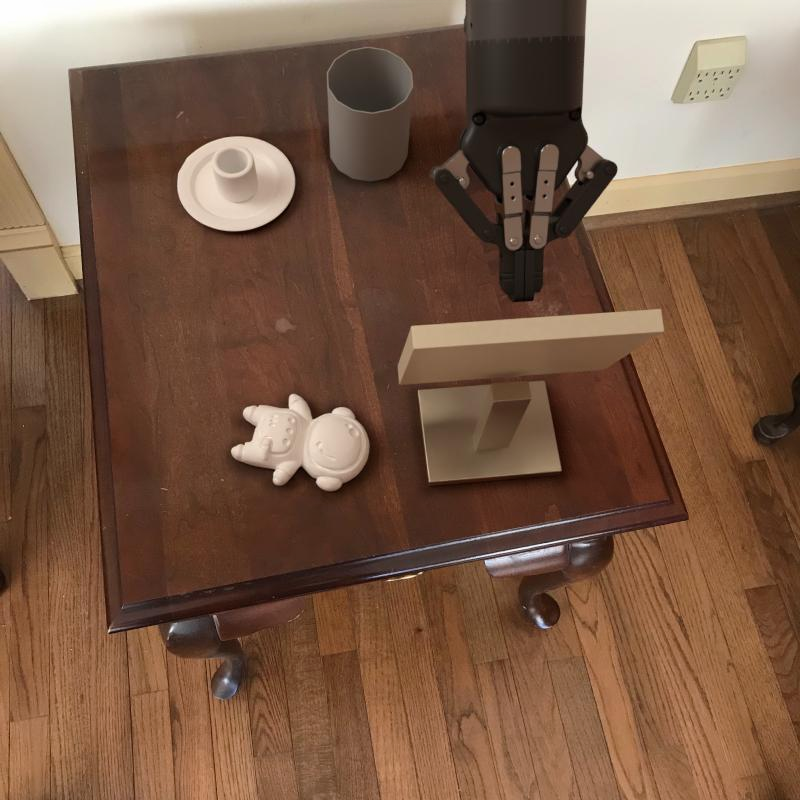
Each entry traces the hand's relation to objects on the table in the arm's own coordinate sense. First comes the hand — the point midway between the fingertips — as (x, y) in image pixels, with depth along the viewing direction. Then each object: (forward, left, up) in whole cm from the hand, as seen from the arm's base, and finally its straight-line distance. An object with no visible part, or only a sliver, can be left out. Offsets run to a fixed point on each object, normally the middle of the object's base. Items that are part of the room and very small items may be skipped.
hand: (520, 299), depth 59 cm
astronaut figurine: (+17, +2, -20) cm, 27 cm away
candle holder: (+22, -27, -20) cm, 40 cm away
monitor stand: (0, +2, -20) cm, 20 cm away
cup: (+8, -31, -20) cm, 38 cm away
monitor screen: (0, +1, -10) cm, 10 cm away
